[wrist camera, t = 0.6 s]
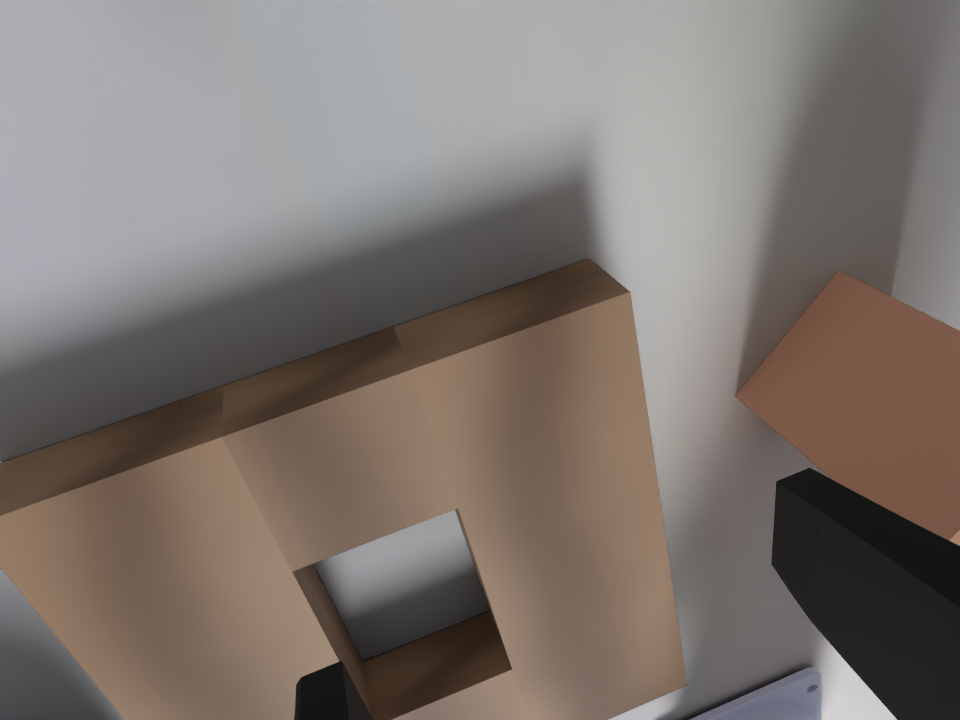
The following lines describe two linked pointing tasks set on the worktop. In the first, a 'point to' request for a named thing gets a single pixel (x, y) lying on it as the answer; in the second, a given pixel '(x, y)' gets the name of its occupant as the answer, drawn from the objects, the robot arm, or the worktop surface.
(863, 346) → the salmon brown rectangular block
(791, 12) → the worktop surface
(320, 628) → the socket plate
